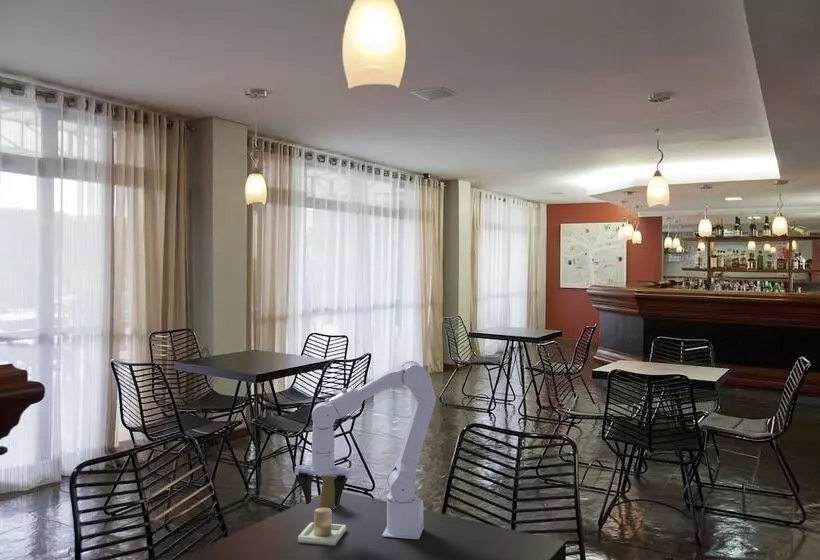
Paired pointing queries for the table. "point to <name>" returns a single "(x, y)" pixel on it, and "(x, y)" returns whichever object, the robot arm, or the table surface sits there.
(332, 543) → the sage tray
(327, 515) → the beech cylinder
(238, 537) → the table surface
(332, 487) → the olive tapered cylinder
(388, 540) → the table surface
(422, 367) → the robot arm
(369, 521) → the table surface
